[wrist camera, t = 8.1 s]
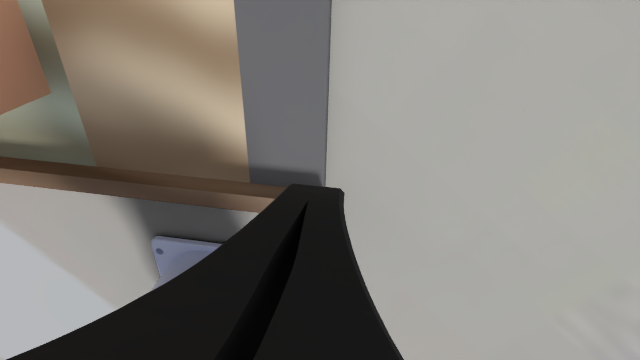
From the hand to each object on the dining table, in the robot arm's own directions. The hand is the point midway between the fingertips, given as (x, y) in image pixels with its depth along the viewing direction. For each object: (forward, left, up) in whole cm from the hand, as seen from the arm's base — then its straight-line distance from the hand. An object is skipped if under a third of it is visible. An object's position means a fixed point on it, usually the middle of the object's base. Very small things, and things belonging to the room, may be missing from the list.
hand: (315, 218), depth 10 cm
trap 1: (+3, +3, -9) cm, 10 cm away
